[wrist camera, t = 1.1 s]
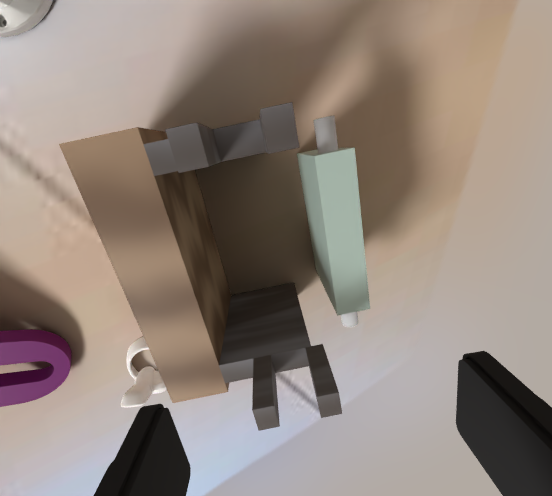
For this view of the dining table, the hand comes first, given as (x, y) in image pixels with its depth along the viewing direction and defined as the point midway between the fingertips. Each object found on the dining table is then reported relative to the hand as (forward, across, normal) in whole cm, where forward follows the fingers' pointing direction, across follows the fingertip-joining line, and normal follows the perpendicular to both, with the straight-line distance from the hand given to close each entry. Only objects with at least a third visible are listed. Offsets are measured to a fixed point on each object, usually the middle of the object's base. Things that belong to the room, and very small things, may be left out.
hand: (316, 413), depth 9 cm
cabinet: (+25, +6, 0) cm, 25 cm away
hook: (+25, +19, +15) cm, 35 cm away
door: (+25, -5, -1) cm, 25 cm away
